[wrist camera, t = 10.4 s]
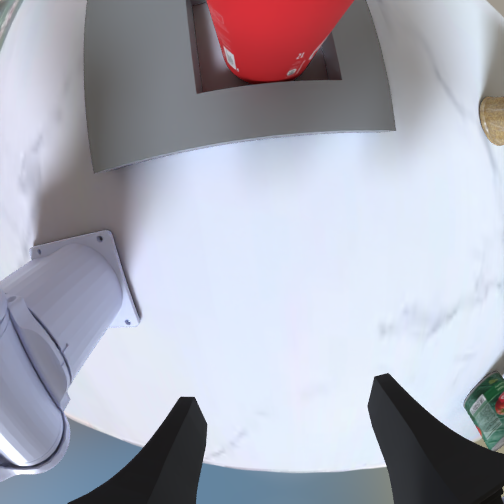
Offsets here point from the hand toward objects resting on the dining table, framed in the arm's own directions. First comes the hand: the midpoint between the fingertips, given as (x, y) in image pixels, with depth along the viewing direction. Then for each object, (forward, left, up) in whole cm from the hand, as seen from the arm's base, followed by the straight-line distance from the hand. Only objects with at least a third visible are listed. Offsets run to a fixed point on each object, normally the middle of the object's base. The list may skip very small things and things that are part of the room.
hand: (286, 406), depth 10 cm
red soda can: (+2, +16, -11) cm, 19 cm away
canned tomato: (+31, -25, -11) cm, 42 cm away
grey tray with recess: (-1, +17, -10) cm, 20 cm away
